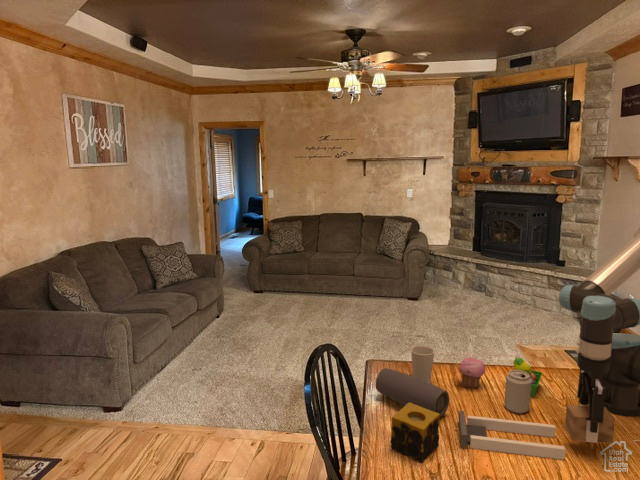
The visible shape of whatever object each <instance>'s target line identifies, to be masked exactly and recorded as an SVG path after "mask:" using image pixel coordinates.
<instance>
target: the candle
mask: <svg viewBox="0 0 640 480" xmlns="http://www.w3.org/2000/svg"><path fill="white" fill-rule="evenodd" d="M439 416H440V414H439V413H437V412H433V411H430V410H428V409H425V408H423V407H420V406H418V405H415V404H412V403H408V404H406V405H405V406H404V407H403V406H402V408H401V409H399V410H398V412H396V413H395V414H394V415H392V417H391V435H390V449H391V450H393V451H395V452H397V453H399V454H401V455H403V456H406V457H408V458H411V459H412V460H415V461H417V462H419V463H423V462H425V460H427V459H428V457H429V456H430V455H432V453H433V452H434V451H435V450H436V449H437V448H438V447H439V446H440V443H439V441H440V435H439V433H440V432H439V427H440V424H439V423H440V417H439Z"/></svg>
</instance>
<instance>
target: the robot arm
mask: <svg viewBox="0 0 640 480" xmlns="http://www.w3.org/2000/svg"><path fill="white" fill-rule="evenodd" d="M639 270H640V228H638V229H637V230H636V231H635V232H634V234H633V238H632V239H631V240H630V241H629V242H628V243H625V245H624V246H622V248H620V249H619V250H618V251H617V252H616V253H615V254H613V255H612V256H611V257H610V258H609V259H608V260H607V261H605V262H604V263H603V264H602V265H601V266H600V267H598V268H597V269H596V270H595V271H593V272H592V273H591V275H589V276H588V277H586V278H585V279H584V280H583V281H582V282H581V283H580V284H579V285H576V284H567V285H564V286H563V287H562V288H561V290H560V292H559V294H558V302H559V305H560V306H561V307H562V308H563V309H566V310H568V311H570V312H571V313H575V314H579V315H580V327H579V331H580V332H579V339H578V340H579V341H577V342H576V345H577V346H578V353H577V361H576V366H577V367H578V369H579V377H578V384H577V385H578V386H577V395H576V396H577V399H578V403H579V404H578V406H589V418H587V417H586V420H587V425H586V437H585V441H584V442H586V443H595V444H598V442H597V440H598V429H599V423H603V414H604V407H606V408H607V410H608V411H609V412H610V413H611V414H615V415H620V416H627V417H629V416H630V417H634V416H640V335H637V334H632V333H630V334H629V333H614V332H616V331H621V330H625V329H630V328H635V327H638V326H640V299H638V298H634V297H626V298H619V297H615V296H611V295H612V294H613V293H614V292H615V291H616V290H617V289H618V288H620V287H621V286H622V285H623V284H624V283H626V281H628V280H629V278H630V279H631V277H632V276H633V275H634V274H635V273H637V272H638V271H639Z"/></svg>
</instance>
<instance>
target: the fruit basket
mask: <svg viewBox="0 0 640 480" xmlns="http://www.w3.org/2000/svg"><path fill="white" fill-rule="evenodd" d="M513 370H521V371H524V372H527V373H528V374H529V375H530V378H531V380H532V384H531V397H530V398H534V396H535V394H536V391H537V388H538V386H539V383H540V382H541V378H542V376H543V373H542V372H541V371H537V370H532V367H531V365H530V364H529V363H528V362H527V361H526V360H524V358H522V357H520V356H519V357H517V356H516V357H515V359H514V360H513Z"/></svg>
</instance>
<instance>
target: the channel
mask: <svg viewBox="0 0 640 480" xmlns="http://www.w3.org/2000/svg"><path fill="white" fill-rule="evenodd" d="M466 420H467V422H466V425H472V426H481V427H486V431H487V430H489V431H498V432H505V433H515V434H523V435H532V436H540V437H548V438H555V437H556V429H557V428H556V425H555V424H547V423H538V422H532V421H531V422H530V421H523V420H522V421H520V420H514V419H513V420H511V419H503V418H495V417H487V416H484V417H483V416H477V415H476V416H475V415H467V419H466ZM469 448H470V449H476V450H483V451H491V452H500V453H506V454H508V453H509V454H514V455H516V454H517V455H525V456H529V457H530V456H531V457H538V458H547V459H555V460H565V457H566V448H565V446H564V445H559V444H558V445H557V444H549V443H541V442H540V443H539V442H533V441H522V440H516V439H515V440H514V439H506V438H505V439H504V438H498V437H490V436H487V437H482V436H474V435H470V445H469Z"/></svg>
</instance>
